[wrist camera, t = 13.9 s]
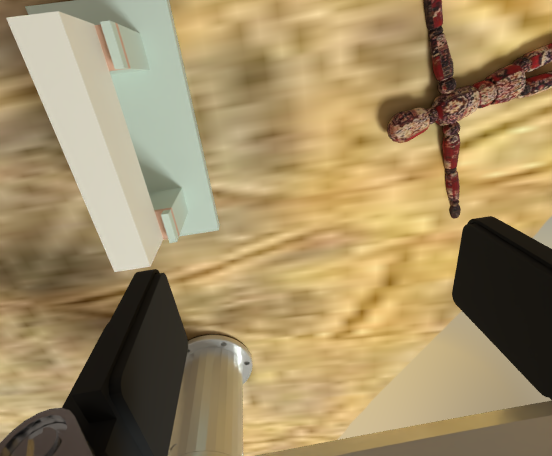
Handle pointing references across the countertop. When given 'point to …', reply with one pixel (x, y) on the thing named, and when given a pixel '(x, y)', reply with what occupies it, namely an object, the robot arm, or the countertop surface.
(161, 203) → the display stand
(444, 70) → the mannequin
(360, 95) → the countertop surface
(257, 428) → the countertop surface
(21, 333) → the countertop surface
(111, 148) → the cream rectangular beam
